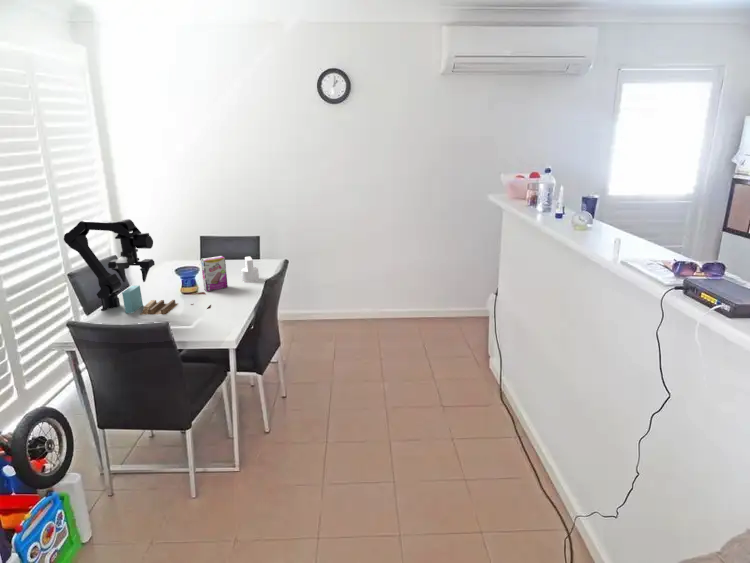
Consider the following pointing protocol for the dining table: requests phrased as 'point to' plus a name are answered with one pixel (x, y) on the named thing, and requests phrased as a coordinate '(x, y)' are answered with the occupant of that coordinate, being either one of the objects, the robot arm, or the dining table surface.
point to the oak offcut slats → (149, 306)
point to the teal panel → (132, 299)
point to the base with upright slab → (249, 271)
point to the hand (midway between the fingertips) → (134, 281)
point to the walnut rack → (161, 308)
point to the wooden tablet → (198, 294)
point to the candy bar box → (214, 273)
